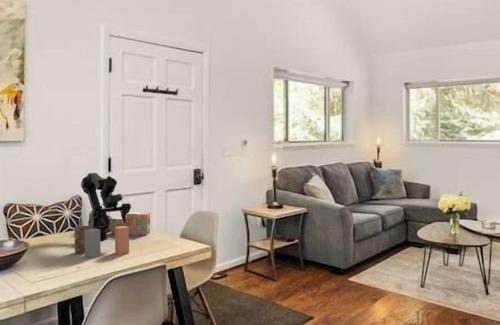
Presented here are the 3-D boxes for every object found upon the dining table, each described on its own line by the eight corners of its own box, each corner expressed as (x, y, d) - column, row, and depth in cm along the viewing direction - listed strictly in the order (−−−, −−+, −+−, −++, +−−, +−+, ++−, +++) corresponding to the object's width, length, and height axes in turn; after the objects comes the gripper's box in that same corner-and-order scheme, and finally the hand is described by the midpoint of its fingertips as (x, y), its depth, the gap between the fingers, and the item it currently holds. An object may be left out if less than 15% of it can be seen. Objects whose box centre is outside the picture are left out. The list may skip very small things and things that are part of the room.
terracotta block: (115, 252, 210) (114, 226, 210) (125, 251, 213) (124, 225, 213) (118, 254, 206) (118, 228, 206) (129, 253, 209) (128, 227, 209)
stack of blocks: (110, 234, 249) (110, 213, 249) (114, 232, 255) (114, 211, 255) (147, 235, 248) (147, 214, 247) (150, 233, 254) (150, 212, 254)
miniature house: (85, 234, 250) (85, 214, 249) (88, 229, 263) (87, 210, 263) (112, 233, 254) (112, 213, 253) (114, 228, 267) (113, 209, 266)
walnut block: (74, 253, 208) (74, 227, 207) (80, 250, 213) (79, 225, 212) (84, 253, 207) (84, 228, 207) (89, 251, 212) (89, 225, 212)
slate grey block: (84, 256, 203) (84, 229, 203) (94, 254, 207) (94, 228, 206) (90, 258, 200) (90, 231, 199) (100, 255, 204) (100, 229, 203)
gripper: (92, 190, 213) (100, 215, 205) (129, 187, 224) (138, 211, 216) (88, 204, 220) (95, 229, 212) (124, 201, 231) (132, 224, 223)
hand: (115, 223), depth 215 cm, fingers open, 9 cm apart
